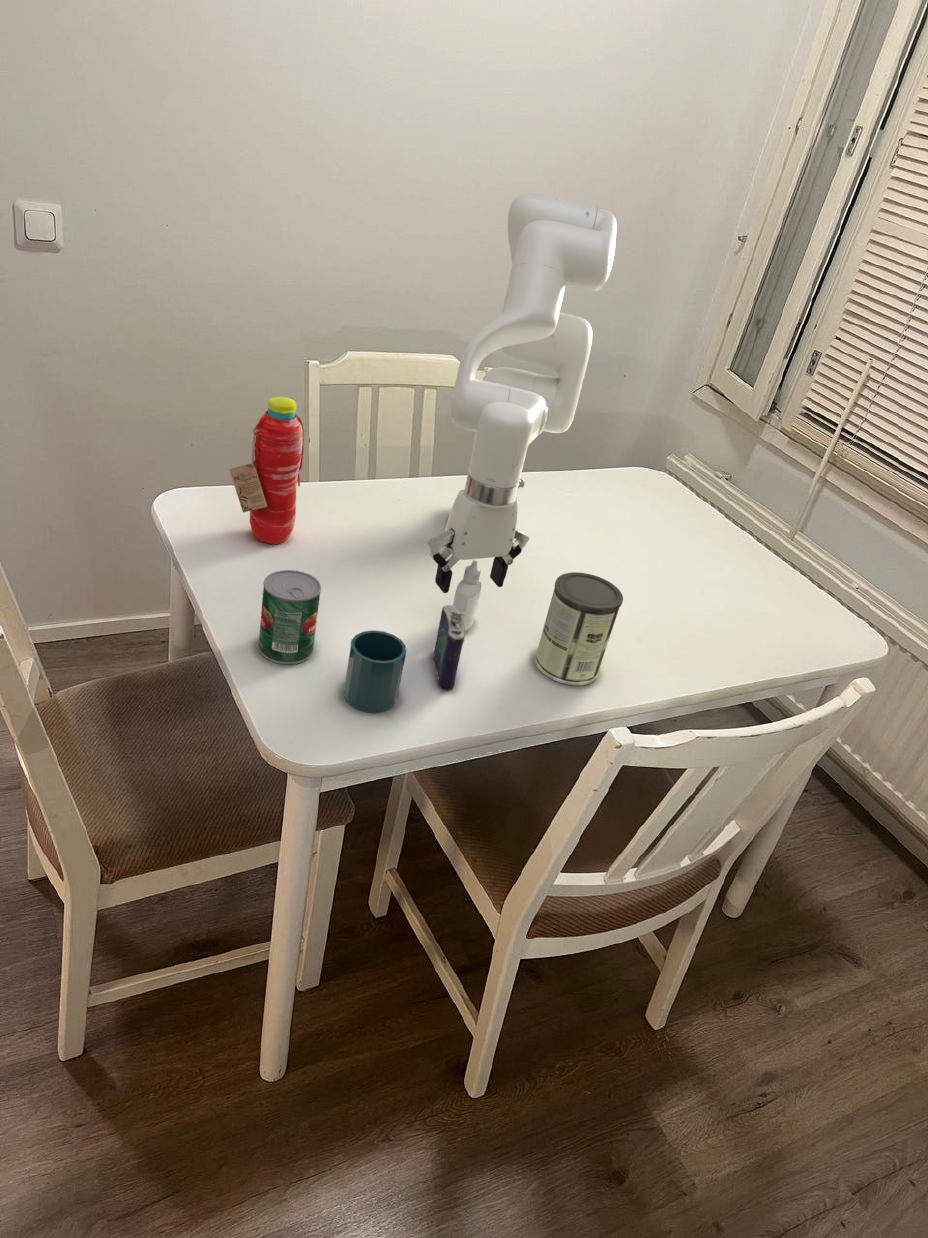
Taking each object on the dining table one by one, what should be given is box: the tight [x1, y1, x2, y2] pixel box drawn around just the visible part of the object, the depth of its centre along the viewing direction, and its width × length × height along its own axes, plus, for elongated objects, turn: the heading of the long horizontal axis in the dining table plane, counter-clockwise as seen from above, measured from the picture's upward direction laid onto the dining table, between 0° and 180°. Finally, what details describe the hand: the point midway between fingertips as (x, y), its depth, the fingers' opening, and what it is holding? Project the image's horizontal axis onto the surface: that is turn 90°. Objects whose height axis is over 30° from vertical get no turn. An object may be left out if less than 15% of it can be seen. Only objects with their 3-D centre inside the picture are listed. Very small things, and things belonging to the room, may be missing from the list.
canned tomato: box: [257, 569, 322, 665], centre depth 126 cm, size 8×8×11 cm
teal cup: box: [343, 629, 407, 714], centre depth 122 cm, size 7×7×8 cm
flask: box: [432, 604, 466, 691], centre depth 129 cm, size 9×3×11 cm, turn 8°
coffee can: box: [534, 571, 624, 686], centre depth 136 cm, size 10×10×14 cm
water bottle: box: [228, 396, 305, 545], centre depth 148 cm, size 12×8×25 cm, turn 127°
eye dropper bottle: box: [452, 559, 482, 633], centre depth 140 cm, size 4×6×12 cm
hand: (469, 585), depth 140 cm, fingers open, 9 cm apart
